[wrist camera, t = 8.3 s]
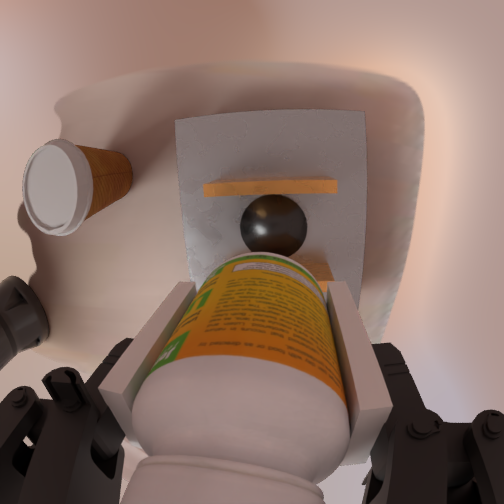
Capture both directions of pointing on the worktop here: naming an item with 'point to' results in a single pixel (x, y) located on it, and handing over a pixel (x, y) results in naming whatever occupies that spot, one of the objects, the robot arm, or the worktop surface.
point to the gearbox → (275, 190)
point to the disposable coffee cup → (72, 184)
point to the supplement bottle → (244, 393)
